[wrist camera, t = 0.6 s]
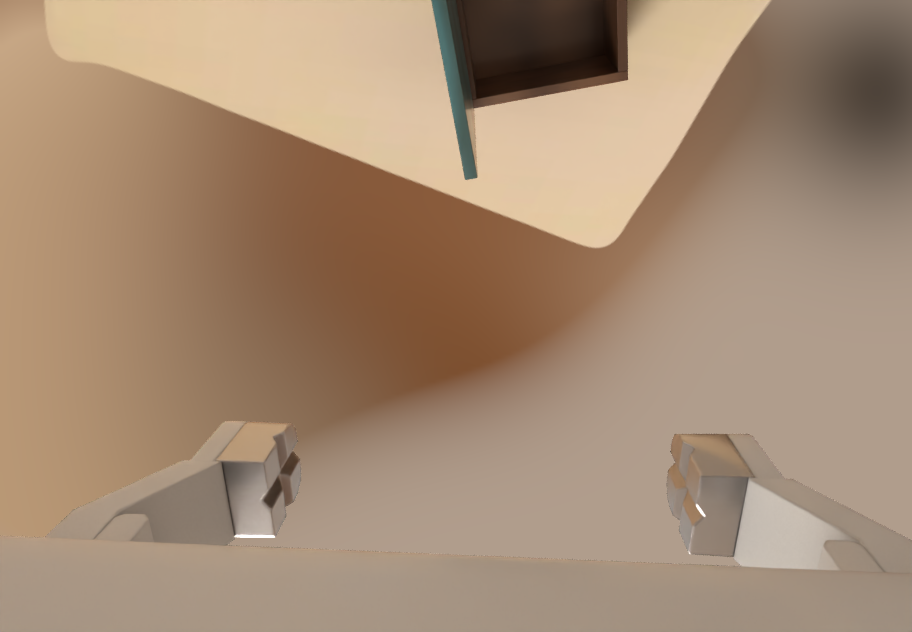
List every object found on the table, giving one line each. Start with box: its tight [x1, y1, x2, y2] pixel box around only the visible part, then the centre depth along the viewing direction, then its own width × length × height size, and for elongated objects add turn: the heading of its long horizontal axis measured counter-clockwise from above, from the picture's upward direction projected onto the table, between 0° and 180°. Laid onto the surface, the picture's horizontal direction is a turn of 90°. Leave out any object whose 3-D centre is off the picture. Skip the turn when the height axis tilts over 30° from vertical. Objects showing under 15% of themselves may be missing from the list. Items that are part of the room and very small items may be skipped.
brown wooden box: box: [456, 0, 628, 108], centre depth 50 cm, size 14×13×7 cm
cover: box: [431, 0, 477, 180], centre depth 42 cm, size 14×13×1 cm
